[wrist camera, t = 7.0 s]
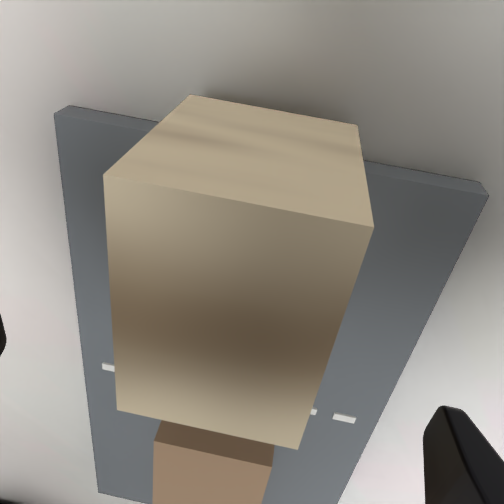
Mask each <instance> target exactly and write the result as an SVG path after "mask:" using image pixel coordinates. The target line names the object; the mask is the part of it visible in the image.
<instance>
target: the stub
mask: <svg viewBox="0 0 504 504" xmlns="http://www.w3.org/2000/svg"><path fill="white" fill-rule="evenodd" d="M103 182H104V199H105V216H106V233H107V250H108V267H109V284H110V301H111V318H112V334H113V351H114V368H115V385H116V402H117V410H119V411H124V412H128V413H133V414H137V415H142V416H146V417H151V418H155V419H160V420H164V421H169V422H173V423H178V424H182V425H187V426H192V427H196V428H201V429H205V430H210V431H214V432H219V433H223V434H228V435H232V436H237V437H241V438H246V439H250V440H255V441H260V442H264V443H269V444H273V445H278V446H282V447H287V448H291V449H296V450H298V448H299V445H300V442H301V439H302V436H303V433H304V430H305V427H306V424H307V422H308V419H309V416H310V413H311V410H312V407H313V404H314V401H315V398H316V395H317V392H318V390H319V387H320V384H321V381H322V378H323V375H324V372H325V369H326V366H327V363H328V360H329V358H330V355H331V352H332V349H333V346H334V343H335V340H336V337H337V334H338V331H339V328H340V326H341V323H342V320H343V317H344V314H345V311H346V308H347V305H348V302H349V299H350V296H351V294H352V291H353V288H354V285H355V282H356V279H357V276H358V273H359V270H360V267H361V264H362V262H363V259H364V256H365V253H366V250H367V247H368V244H369V241H370V238H371V235H372V233H373V230H374V222H373V216H372V210H371V204H370V198H369V192H368V186H367V180H366V174H365V168H364V162H363V156H362V150H361V144H360V138H359V132H358V126H357V125H355V124H349V123H344V122H338V121H333V120H327V119H322V118H316V117H311V116H305V115H300V114H295V113H289V112H284V111H278V110H273V109H267V108H262V107H256V106H251V105H245V104H240V103H235V102H229V101H224V100H218V99H213V98H207V97H202V96H196V95H191V94H190V95H189V96H188V97H187V98H186V99H184V100H183V101H182V102H181V103H180V104H179V105H178V106H177V107H176V108H175V109H174V110H173V111H171V112H170V113H169V114H168V115H167V116H166V117H165V118H164V119H163V120H162V121H161V122H160V123H158V124H157V125H156V126H155V127H154V128H153V129H152V130H151V131H150V132H149V133H148V134H146V135H145V136H144V137H143V138H142V139H141V140H140V141H139V142H138V143H137V144H136V145H135V146H133V147H132V148H131V149H130V150H129V151H128V152H127V153H126V154H125V155H124V156H123V157H122V158H120V159H119V160H118V161H117V162H116V163H115V164H114V165H113V166H112V167H111V168H110V169H109V170H107V171H106V172H105V173H104V174H103Z"/></svg>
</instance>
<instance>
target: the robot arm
mask: <svg viewBox="0 0 504 504" xmlns="http://www.w3.org/2000/svg"><path fill="white" fill-rule="evenodd" d="M5 345H6V334H5V330H4V326H3V322H2V318H1V315H0V356H1V354H2V352H3V350H4V348H5ZM423 454H424V480H425V504H504V461H503V460H502V459H501V457H500V456H499V455H498V453H497V452H496V451H495V450H494V448H493V447H492V446H491V445H490V443H489V442H488V441H487V439H486V438H485V437H484V436H483V434H482V433H481V432H480V430H479V429H478V428H477V427H476V425H475V424H474V423H473V422H472V420H471V419H470V418H469V416H468V415H467V414H466V413H465V412H464V411H463V410H461V409H458V408H453V407H449V406H440V407H439V408H438V409H437V410H436V412H435V414H434V415H433V417H432V419H431V420H430V422H429V424H428V425H427V427H426V429H425V431H424V435H423ZM0 504H1V503H0Z"/></svg>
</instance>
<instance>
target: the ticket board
mask: <svg viewBox="0 0 504 504" xmlns="http://www.w3.org/2000/svg"><path fill="white" fill-rule="evenodd" d="M54 120H55V129H56V137H57V146H58V154H59V163H60V171H61V180H62V188H63V196H64V205H65V213H66V222H67V230H68V239H69V247H70V256H71V264H72V273H73V281H74V290H75V298H76V307H77V315H78V324H79V332H80V341H81V349H82V358H83V366H84V375H85V383H86V392H87V400H88V409H89V417H90V426H91V434H92V443H93V451H94V460H95V468H96V477H97V485H98V493H103V494H107V495H111V496H116V497H120V498H124V499H129V500H133V501H137V502H142V503H146V504H337V503H338V501H339V499H340V497H341V495H342V493H343V491H344V489H345V487H346V485H347V483H348V481H349V479H350V477H351V475H352V473H353V471H354V469H355V467H356V465H357V463H358V461H359V459H360V457H361V454H362V452H363V450H364V448H365V446H366V444H367V442H368V440H369V438H370V436H371V434H372V432H373V430H374V428H375V426H376V424H377V422H378V420H379V418H380V416H381V414H382V412H383V410H384V408H385V406H386V404H387V402H388V400H389V398H390V396H391V394H392V392H393V390H394V388H395V386H396V384H397V381H398V379H399V377H400V375H401V373H402V371H403V369H404V367H405V365H406V363H407V361H408V359H409V357H410V355H411V353H412V351H413V349H414V347H415V345H416V343H417V341H418V339H419V337H420V335H421V333H422V331H423V329H424V327H425V325H426V323H427V321H428V319H429V317H430V315H431V313H432V311H433V308H434V306H435V304H436V302H437V300H438V298H439V296H440V294H441V292H442V290H443V288H444V286H445V284H446V282H447V280H448V278H449V276H450V274H451V272H452V270H453V268H454V266H455V264H456V262H457V260H458V258H459V256H460V254H461V252H462V250H463V248H464V246H465V244H466V242H467V240H468V237H469V235H470V233H471V231H472V229H473V227H474V225H475V223H476V221H477V219H478V217H479V215H480V213H481V211H482V209H483V207H484V205H485V203H486V201H487V199H488V197H489V195H488V193H487V192H486V190H485V189H484V187H483V186H482V185H481V183H480V182H475V181H470V180H465V179H459V178H454V177H449V176H443V175H438V174H433V173H427V172H422V171H417V170H411V169H406V168H401V167H395V166H390V165H385V164H379V163H374V162H369V161H363V162H364V168H365V174H366V180H367V186H368V192H369V198H370V204H371V210H372V216H373V222H374V230H373V233H372V235H371V238H370V241H369V244H368V247H367V250H366V253H365V256H364V259H363V262H362V264H361V267H360V270H359V273H358V276H357V279H356V282H355V285H354V288H353V291H352V294H351V296H350V299H349V302H348V305H347V308H346V311H345V314H344V317H343V320H342V323H341V326H340V328H339V331H338V334H337V337H336V340H335V343H334V346H333V349H332V352H331V355H330V358H329V360H328V363H327V366H326V369H325V372H324V375H323V378H322V381H321V384H320V387H319V390H318V392H317V395H316V398H315V401H314V404H313V407H312V410H311V413H310V416H309V419H308V422H307V424H306V427H305V430H304V433H303V436H302V439H301V442H300V445H299V448H298V450H296V449H291V448H287V447H282V446H278V445H273V444H269V443H264V442H260V441H255V440H250V439H246V438H241V437H237V436H232V435H228V434H223V433H219V432H214V431H210V430H205V429H201V428H196V427H192V426H187V425H182V424H178V423H173V422H169V421H164V420H160V419H155V418H151V417H146V416H142V415H137V414H133V413H128V412H124V411H119V410H117V402H116V385H115V368H114V351H113V334H112V318H111V301H110V284H109V267H108V250H107V233H106V216H105V199H104V182H103V174H104V173H105V172H106V171H107V170H109V169H110V168H111V167H112V166H113V165H114V164H115V163H116V162H117V161H118V160H119V159H120V158H122V157H123V156H124V155H125V154H126V153H127V152H128V151H129V150H130V149H131V148H132V147H133V146H135V145H136V144H137V143H138V142H139V141H140V140H141V139H142V138H143V137H144V136H145V135H146V134H148V133H149V132H150V131H151V130H152V129H153V128H154V127H155V126H156V125H157V124H158V123H160V122H155V121H150V120H144V119H139V118H134V117H128V116H123V115H118V114H112V113H107V112H101V111H96V110H91V109H85V108H80V107H75V106H67V107H65V108H63V109H61V110H60V111H58V112H56V113H54Z"/></svg>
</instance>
